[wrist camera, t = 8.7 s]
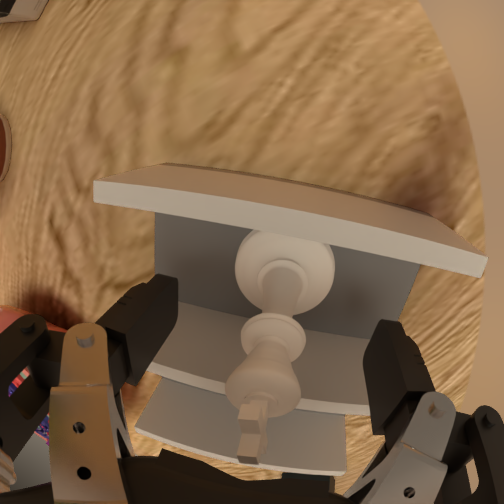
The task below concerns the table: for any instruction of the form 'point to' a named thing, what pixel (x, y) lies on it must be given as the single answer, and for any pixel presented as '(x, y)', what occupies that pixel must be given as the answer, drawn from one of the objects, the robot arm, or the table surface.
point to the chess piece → (274, 328)
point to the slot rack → (241, 310)
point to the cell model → (3, 318)
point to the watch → (312, 478)
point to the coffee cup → (4, 146)
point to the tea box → (21, 10)
